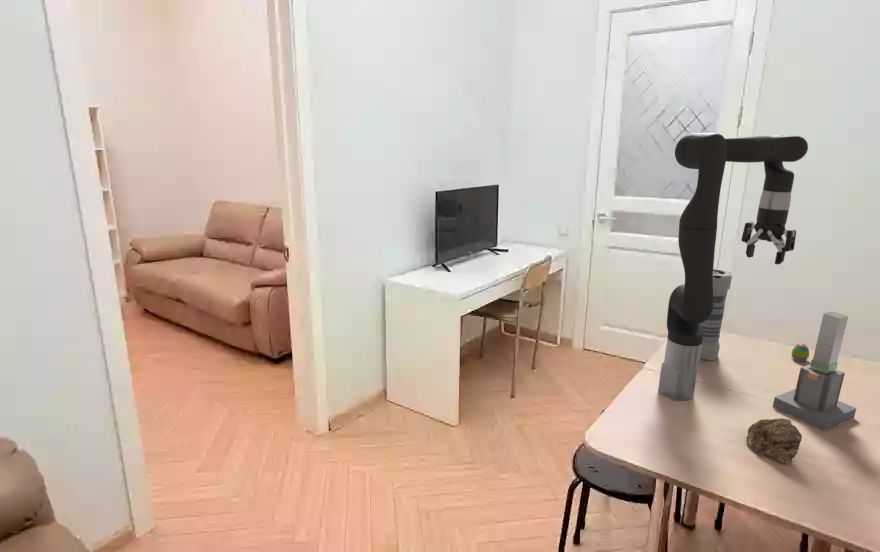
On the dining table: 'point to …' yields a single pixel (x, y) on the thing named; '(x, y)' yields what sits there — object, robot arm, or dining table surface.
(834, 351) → the column
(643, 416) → the dining table surface
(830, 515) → the dining table surface
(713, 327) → the canister
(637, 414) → the dining table surface
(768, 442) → the rock
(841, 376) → the stand
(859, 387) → the dining table surface
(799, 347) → the egg
